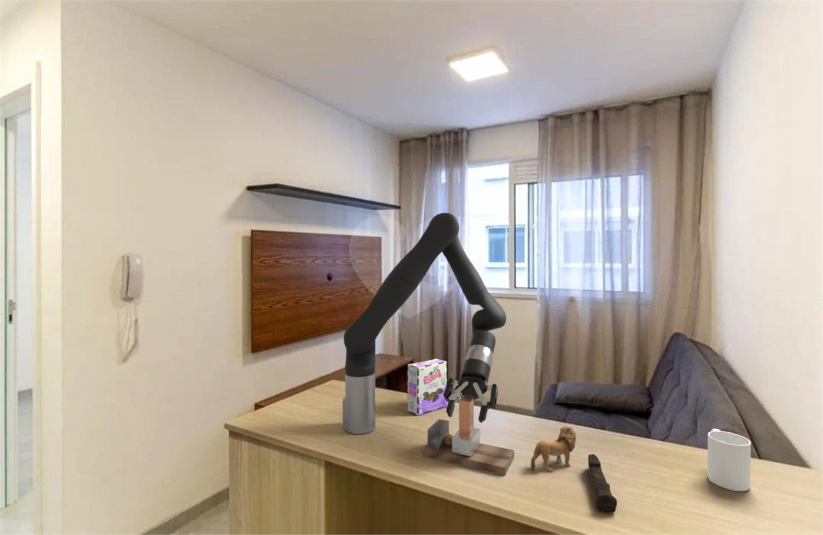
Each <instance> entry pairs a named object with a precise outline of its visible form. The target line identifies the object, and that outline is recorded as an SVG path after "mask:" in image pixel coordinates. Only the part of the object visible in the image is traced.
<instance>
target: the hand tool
mask: <svg viewBox="0 0 823 535" xmlns="http://www.w3.org/2000/svg"><path fill="white" fill-rule="evenodd" d="M587 458H588V459H587V462H588V477H589V479H590V481H591V487H592V489H593V494H594V497H595V508H596V510H597V511H598V512H601V513H605V514H614V513H615V512H616V510H617V506H618V500H617V498H616V497H614V496H613V495H612V491H611V486H610V483H609V482H607V479H606V477H605V475H604V473H603V470H602V464H601V461H600V459H599V458H598V456H597V455H596V454H594V453H591V454H588V457H587Z"/></svg>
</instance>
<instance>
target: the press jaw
mask: <svg viewBox="0 0 823 535" xmlns="http://www.w3.org/2000/svg"><path fill="white" fill-rule="evenodd" d="M474 400H475V399H474V398H467V397H462V398H461V399H460V400H458V430H457V431H456V432H455V433H454V434H453V437H452V453H456V454H461V455H465V456H470V457H471V456H472V454H473V453H474V451H475V450H476V449H477V447H478V446H479V445H480V443H481V429H480V428H474V427H475V426H474V421H475V420H474V416H475V415H474V414H475V412H474V406H475V404H474Z"/></svg>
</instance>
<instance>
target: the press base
mask: <svg viewBox="0 0 823 535" xmlns="http://www.w3.org/2000/svg"><path fill="white" fill-rule="evenodd" d="M447 434H450V421H449V420H445V419H441V418H439V419H438V420H436V421H435V422H434V423H433V424H432V425H430V426H429V428H428V429H427V444H426V445H425V446H424V447H423V448H422V457H423V458H427V459H430V460H431V459H432V460H436V461H440V462H444V463H449V464H453V465H456V466H457V465H458V466H462V467H466V468H470V469H475V470H478V471H482V472H483V471H484V472H487V473H492V474H495V475H501V476H505V477H506V475H507V473H508V471H509V470H510V468H511V465H512V464H513V462H514V459H515V449H511V448H510V449H509V448H507V447H501V446H495V445H490V444H487V443H481V442H480V445H479V446H478V447H477V449H476V450H475V451H474V453H473V454H472V456H471V457H470V456H465V455H461V454H456V453H452V446H447V445H446V444H445V443H444V437H445V435H447Z"/></svg>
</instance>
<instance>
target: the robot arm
mask: <svg viewBox="0 0 823 535" xmlns="http://www.w3.org/2000/svg"><path fill="white" fill-rule="evenodd" d="M459 232H460V223H459V220H458V219H457V217H456V216H455V215H454V214H453V213H449V212H442V213H438V214H435V215H434V216H433V217H432V218H431V220H430V221H429V223H428V225H427V228H426V229H425V231H424V232H423V234H422V235H421V237H420V238H419V240H418V241H417V243H416V244H415V245H414V246H413V248H412V249H411V250H409V251H408V252H407V254H406V255H404V256H403V258H401V259H400V260H399V262H398V263H397V264H396V265H395V266H394V268H393V269H392V270H391V271H390V273H388V275H387V277H386V278H385V279H384V280H383V282H382V283H381V284H380V286H379V288H378V290H377V292H376V293H375V295H374V297H373V298H372V300H371V301H370V303H369V305H368V306H367V307H366V308H365V310H364V311H363V312H362V313H361V314H360V316H359V317H357V319H356V320H355V321H353V322H351V323H350V324H349V325H348V327H347V328H346V329H345V331H344V332H343V333H344V334H343V344H344V347H345V363H344V364H345V365H344V378H345V379H344V380H345V381H344V384H345V385H344V388H345V390H344V391H345V393H344V395H345V396H344V397H343V398H342V429H343V430H344V431H346V432H347V433H349V434H355V435H361V434H362V435H363V434H369V433H371V432H373V431H374V430H375V429H376V340H377V338H378V336H379V334H380V333H381V331H382V329H384V326H386V324H387V322H388V321H390V319H391V318H392V317H393V316H394V314H396V313H397V312H398V310H400V309H401V308H402V306H403V305H404V304H405V303H406V301H408V299H409V298H410V297H411V296H412V294H413V293H414V292H415V291H416V290H417V288H418V287H419V286H420V283H421V282H422V281H423V279H424V278H425V276H426V275H427V273H428V272H429V270H430V268H431V266H432V265H433V263H434V261H435V260H436V259H437V258H438V257H439V256H440V254H441V253H442V255H443V256H444V258H445V260H446V261H447V263H448V264H449V266H450V268H451V270H452V273H453V274H454V277H455V279H456V281H457V284H458V285H459V288H460V289H461V291H462V293H463V295H464V297H465V300H466V302H467V303H468V304H469V305H471V306H480V307H481V308H482V309H479V310H476V312H474V314H473V315H472V318H471V334H472V337H471V341H470V345H469V348H468V351H467V354H466V356H465V360H464V364H463V366H462V367H463V368H462V372H461V376H460V379H458V380H455V379H453V377H449V379H447V386H446V389H445V391H444V394H443V396H444V398H445V400H446V401H447V407H446V408H445V412H446V414H447V416H448V417H449V418H452V417H453V414H454V410H455V406H456V403H457V402H459V400H460V399H461V398H462V397H467V398H474V400H475V401H476V400H478V399H479V401H480V403H481V406H480V410H479V415H478V421H479V423H481V424H483V422H485V421H486V419H487V416H488V410H490V409H493V410H495V409H496V408H497V401H498V393H499V388H498V386H497V383H493V384H488V382H489V378H490V373H491V369H492V366H493V357H494V351H495V347H496V343H497V340H496V336H495V335H494V333H492V332H490V331H493V330H497V329H501V328H502V327H504V326H505V325H506V323H507V314H506V312H505V310H504V309H503V307H502V305H501V304H500V303H499V302H498V301H497V299H495V297H493V295H492V294H491V293H490V292H489V291H488V289H487V287H486V285H485V283H484V280H483V279H482V276H481V275H480V273H479V272H478V270H477V269H476V267H475V266H474V264H473V262H472V261H471V260H470V259H469V257H468V255H467V253H466V252H465V250H464V248H463V245H462V244H461V241H460V236H459ZM457 386H458V388H456V387H457ZM454 389H455V390H454ZM488 391H489V394H490V399H489V401H487V400H486V397H485V396H484V394H485V393H487V392H488Z"/></svg>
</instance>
